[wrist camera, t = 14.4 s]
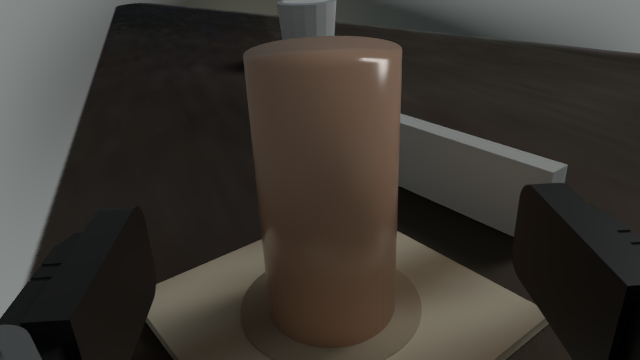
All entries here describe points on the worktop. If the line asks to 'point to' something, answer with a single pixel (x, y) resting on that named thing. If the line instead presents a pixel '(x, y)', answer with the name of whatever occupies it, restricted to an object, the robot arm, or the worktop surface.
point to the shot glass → (306, 18)
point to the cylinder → (327, 182)
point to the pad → (369, 356)
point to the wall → (469, 172)
